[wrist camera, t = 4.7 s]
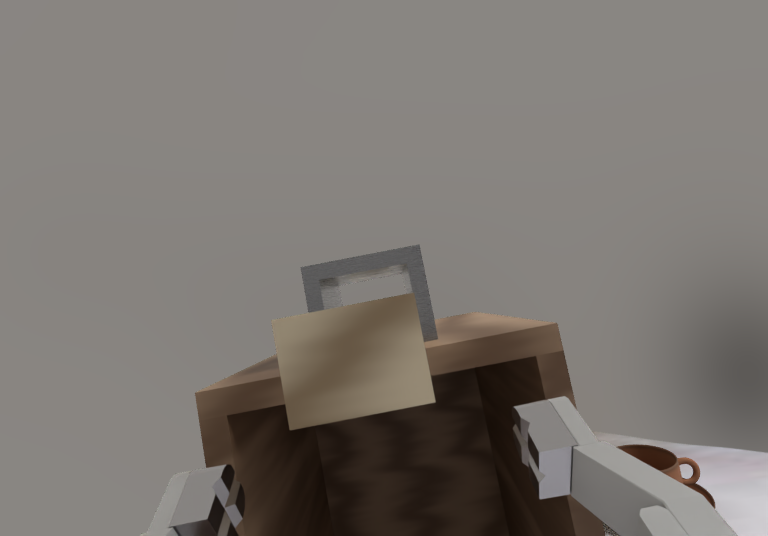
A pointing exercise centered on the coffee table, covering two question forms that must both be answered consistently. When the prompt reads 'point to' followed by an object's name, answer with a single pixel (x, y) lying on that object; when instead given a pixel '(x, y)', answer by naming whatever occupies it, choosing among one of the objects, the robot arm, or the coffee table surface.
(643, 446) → the cup and saucer
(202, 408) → the brown tall wooden box
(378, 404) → the beech bar
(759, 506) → the coffee table surface
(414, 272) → the metal tunnel
